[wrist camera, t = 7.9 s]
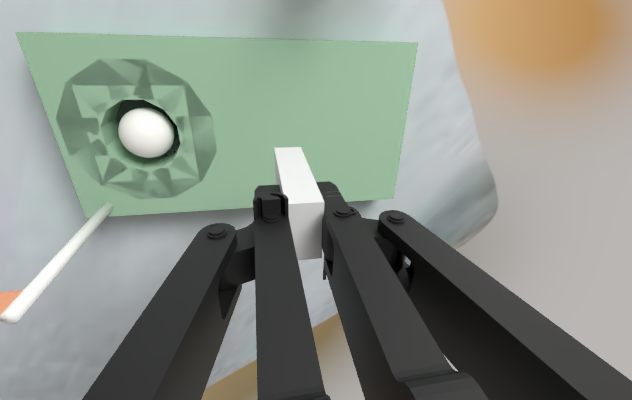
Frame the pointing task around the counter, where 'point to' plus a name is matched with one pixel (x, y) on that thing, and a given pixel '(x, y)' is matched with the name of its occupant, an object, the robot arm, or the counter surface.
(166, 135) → the ball
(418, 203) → the counter surface
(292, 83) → the green
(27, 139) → the counter surface
